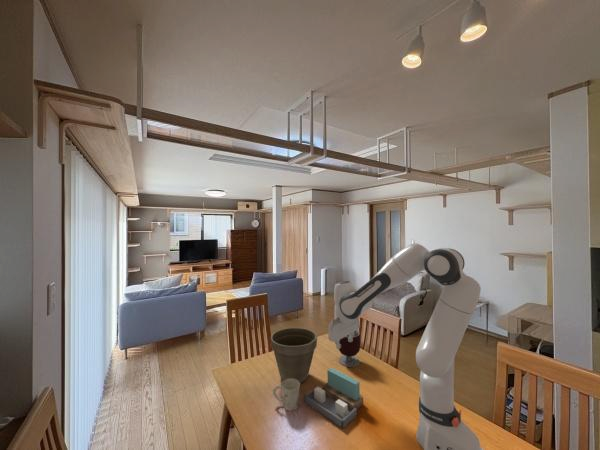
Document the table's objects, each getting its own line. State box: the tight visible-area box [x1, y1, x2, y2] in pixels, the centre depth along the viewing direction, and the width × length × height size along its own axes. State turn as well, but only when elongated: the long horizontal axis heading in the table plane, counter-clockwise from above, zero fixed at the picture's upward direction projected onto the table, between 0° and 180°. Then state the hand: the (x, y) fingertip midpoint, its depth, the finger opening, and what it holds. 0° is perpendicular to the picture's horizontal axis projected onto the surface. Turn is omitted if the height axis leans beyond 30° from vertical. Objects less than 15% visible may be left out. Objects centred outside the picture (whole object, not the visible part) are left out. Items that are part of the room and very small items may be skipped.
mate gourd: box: [338, 330, 362, 368], centre depth 149 cm, size 16×14×20 cm
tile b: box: [313, 386, 325, 403], centre depth 115 cm, size 4×4×2 cm
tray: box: [303, 385, 358, 430], centre depth 110 cm, size 22×10×3 cm, turn 44°
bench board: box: [320, 382, 364, 411], centre depth 116 cm, size 18×8×4 cm, turn 44°
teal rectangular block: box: [326, 367, 361, 400], centre depth 117 cm, size 16×3×7 cm, turn 45°
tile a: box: [335, 399, 348, 418], centre depth 106 cm, size 4×4×2 cm
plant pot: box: [270, 327, 318, 384], centre depth 135 cm, size 25×25×22 cm
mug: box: [272, 378, 301, 412], centre depth 112 cm, size 8×13×10 cm, turn 78°
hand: (344, 344), depth 119 cm, fingers open, 8 cm apart
